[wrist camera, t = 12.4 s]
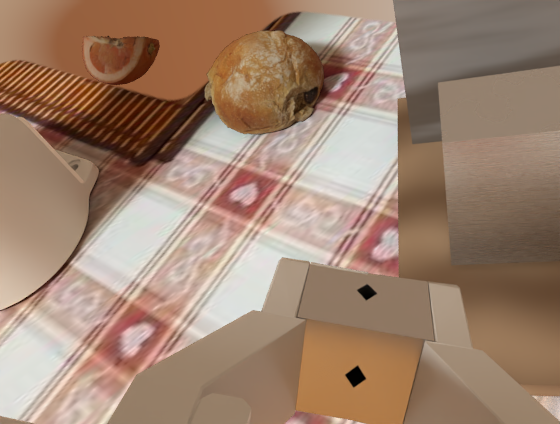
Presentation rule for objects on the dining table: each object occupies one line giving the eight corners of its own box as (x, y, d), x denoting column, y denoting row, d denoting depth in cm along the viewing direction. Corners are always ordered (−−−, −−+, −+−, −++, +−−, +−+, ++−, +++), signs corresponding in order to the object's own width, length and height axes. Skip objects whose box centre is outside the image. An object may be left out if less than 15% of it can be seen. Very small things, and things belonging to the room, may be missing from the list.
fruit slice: (181, 57, 56) (160, 16, 53) (149, 100, 53) (125, 59, 49) (122, 56, 60) (98, 17, 56) (89, 96, 57) (62, 58, 53)
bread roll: (283, 173, 47) (295, 119, 39) (184, 121, 48) (178, 59, 41) (332, 98, 51) (350, 37, 44) (240, 52, 52) (243, -15, 45)
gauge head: (623, 258, 28) (677, 118, 20) (451, 265, 30) (442, 142, 23) (593, 160, 32) (628, 13, 24) (444, 173, 34) (435, 44, 27)
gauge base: (661, 399, 25) (784, 237, 15) (402, 391, 29) (361, 257, 19) (569, 92, 38) (602, -105, 28) (399, 113, 42) (374, -55, 32)
